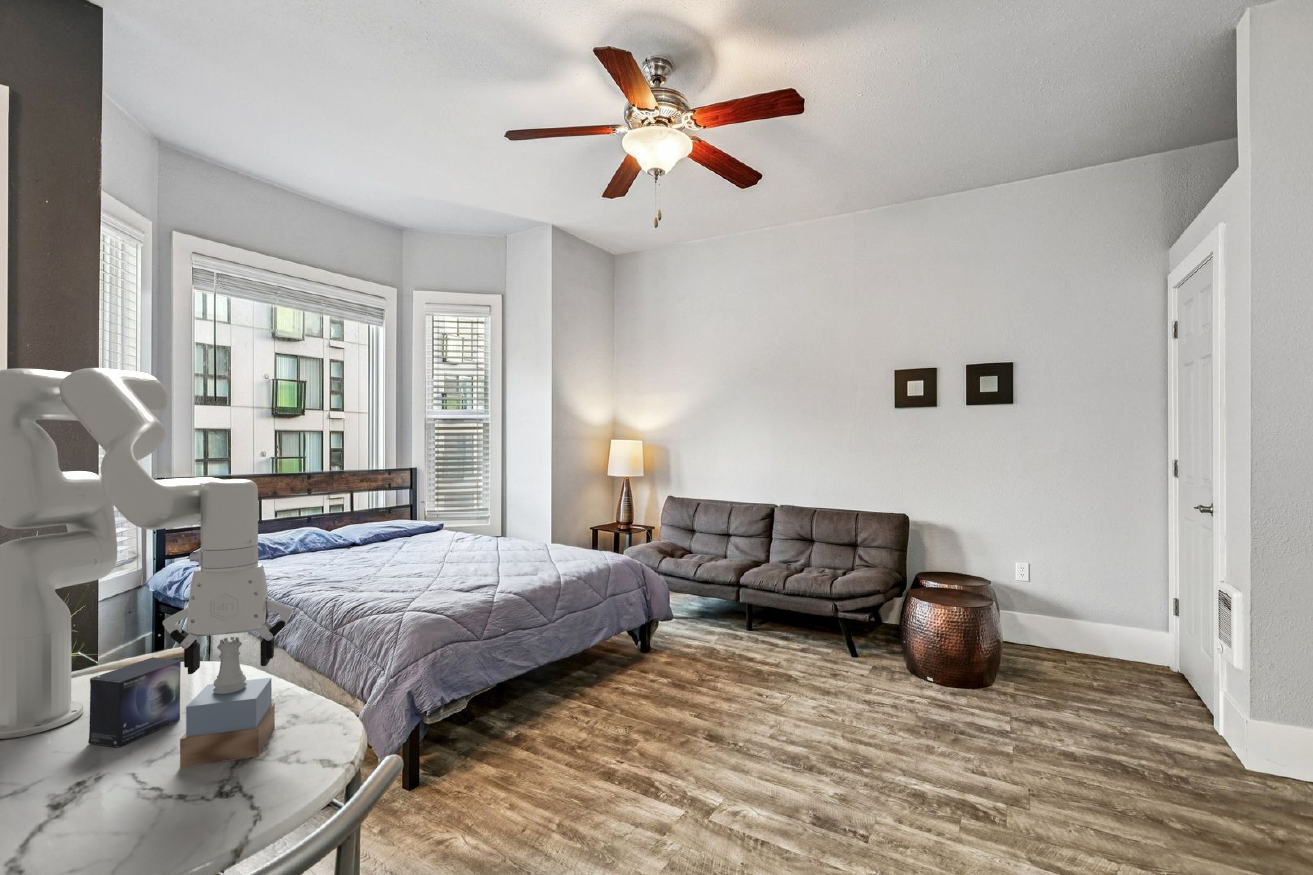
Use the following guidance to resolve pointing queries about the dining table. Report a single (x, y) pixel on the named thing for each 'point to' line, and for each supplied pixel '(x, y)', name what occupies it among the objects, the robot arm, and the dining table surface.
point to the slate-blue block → (228, 709)
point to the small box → (134, 701)
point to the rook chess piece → (229, 668)
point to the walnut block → (227, 743)
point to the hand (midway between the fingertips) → (230, 667)
